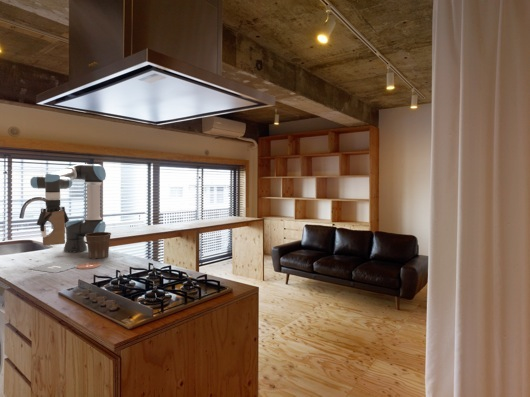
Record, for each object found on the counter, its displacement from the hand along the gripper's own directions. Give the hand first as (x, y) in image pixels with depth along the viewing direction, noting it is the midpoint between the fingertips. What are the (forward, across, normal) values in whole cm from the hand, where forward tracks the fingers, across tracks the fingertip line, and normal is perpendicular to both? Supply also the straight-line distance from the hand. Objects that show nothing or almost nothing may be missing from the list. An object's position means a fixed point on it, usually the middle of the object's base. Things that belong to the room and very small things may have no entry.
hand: (53, 234), depth 199 cm
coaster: (+20, -10, +16) cm, 28 cm away
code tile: (+20, 0, 0) cm, 20 cm away
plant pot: (+21, -31, +3) cm, 37 cm away
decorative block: (+6, 0, 0) cm, 6 cm away
